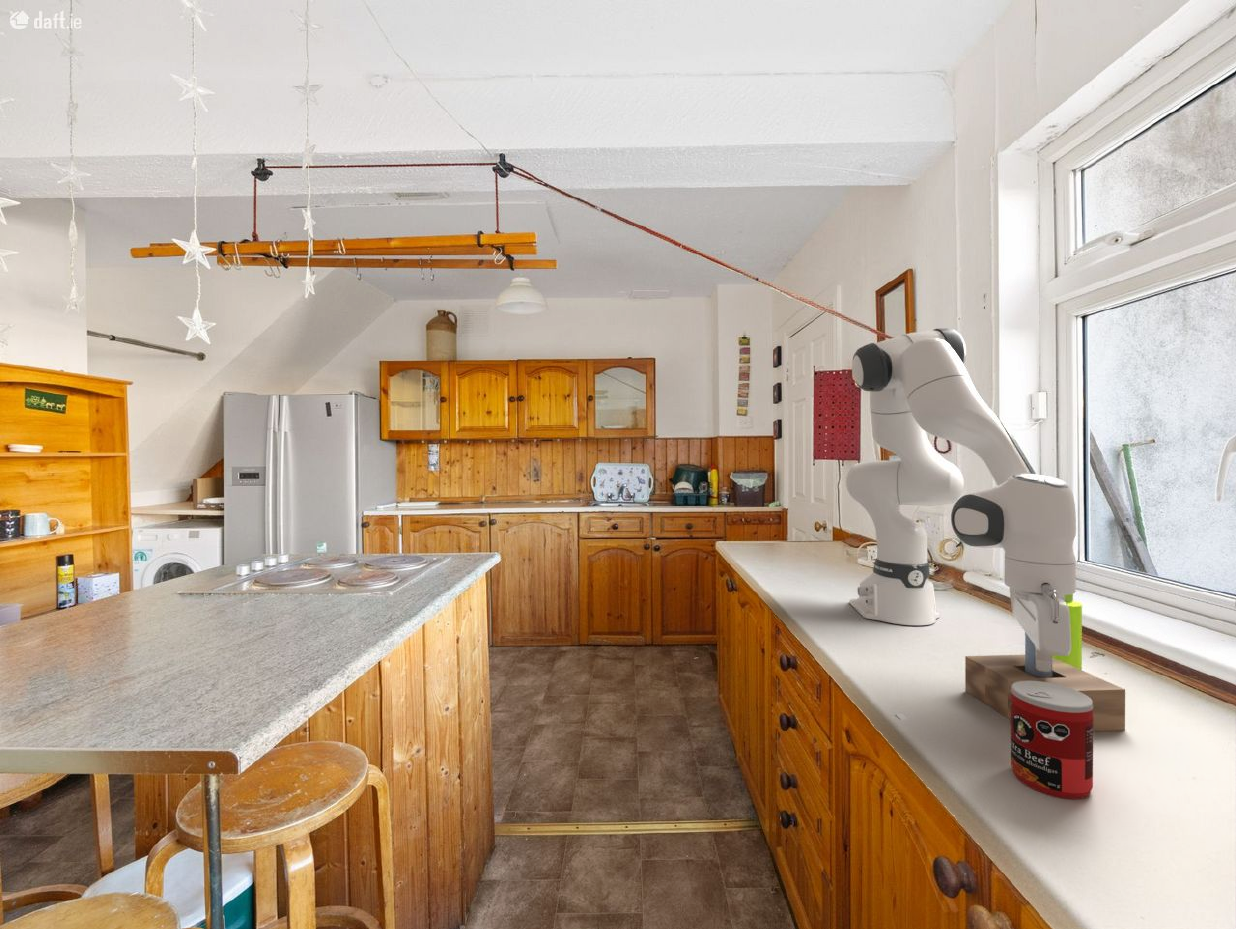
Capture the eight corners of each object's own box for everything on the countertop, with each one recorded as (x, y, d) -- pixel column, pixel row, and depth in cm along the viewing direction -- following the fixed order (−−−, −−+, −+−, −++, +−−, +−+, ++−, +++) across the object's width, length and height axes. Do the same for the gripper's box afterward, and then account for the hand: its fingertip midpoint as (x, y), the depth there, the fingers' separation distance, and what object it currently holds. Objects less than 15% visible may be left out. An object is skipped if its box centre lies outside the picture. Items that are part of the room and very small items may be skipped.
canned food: (995, 765, 70) (995, 681, 69) (1052, 761, 70) (1052, 678, 70) (1047, 803, 62) (1047, 708, 62) (1111, 798, 63) (1111, 705, 63)
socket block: (965, 691, 91) (965, 656, 91) (1044, 688, 92) (1044, 654, 92) (1032, 733, 77) (1032, 692, 77) (1124, 730, 78) (1125, 689, 78)
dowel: (1019, 687, 86) (1020, 619, 86) (1034, 684, 87) (1034, 616, 87) (1043, 696, 83) (1043, 625, 82) (1057, 693, 84) (1057, 623, 84)
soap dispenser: (1069, 666, 102) (1070, 561, 101) (1088, 680, 95) (1088, 568, 95) (1032, 662, 104) (1033, 559, 103) (1048, 676, 97) (1048, 566, 97)
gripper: (1085, 595, 74) (1085, 694, 74) (1047, 567, 92) (1047, 647, 92) (1029, 590, 77) (1028, 686, 77) (1003, 564, 95) (1002, 641, 95)
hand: (1038, 664), depth 85 cm, fingers closed on dowel, 3 cm apart
